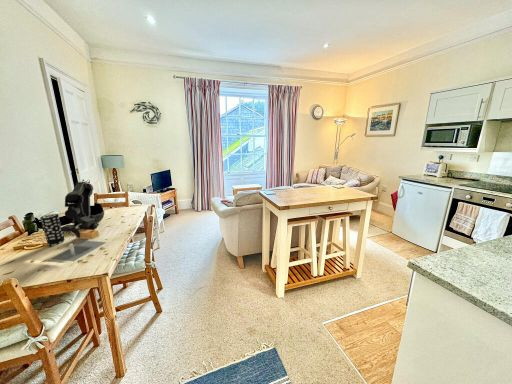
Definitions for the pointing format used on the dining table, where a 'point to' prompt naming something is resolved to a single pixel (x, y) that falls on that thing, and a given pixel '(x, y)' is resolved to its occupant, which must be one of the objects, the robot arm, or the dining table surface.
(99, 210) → the coal bowl
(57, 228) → the spotted tube
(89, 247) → the keeper board
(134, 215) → the dining table surface
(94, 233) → the orange rectangular block
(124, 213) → the dining table surface
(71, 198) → the robot arm
